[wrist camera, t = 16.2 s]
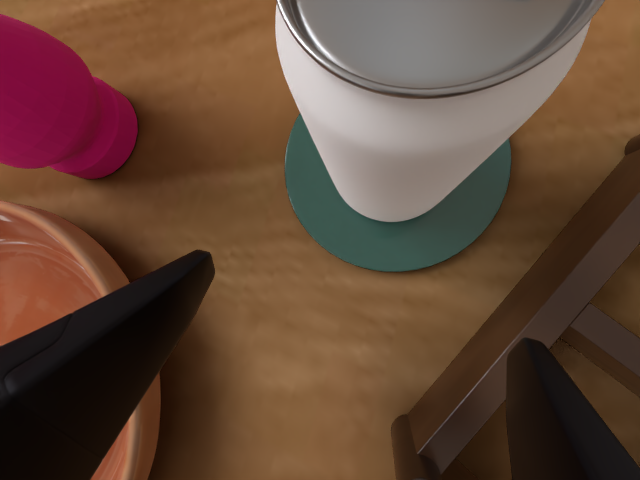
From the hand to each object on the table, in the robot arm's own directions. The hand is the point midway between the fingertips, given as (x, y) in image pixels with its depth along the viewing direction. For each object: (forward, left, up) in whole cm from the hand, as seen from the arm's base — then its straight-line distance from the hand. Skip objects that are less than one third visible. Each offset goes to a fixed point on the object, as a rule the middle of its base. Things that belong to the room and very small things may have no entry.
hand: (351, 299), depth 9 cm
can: (0, +7, -8) cm, 10 cm away
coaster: (-1, +7, -8) cm, 11 cm away
